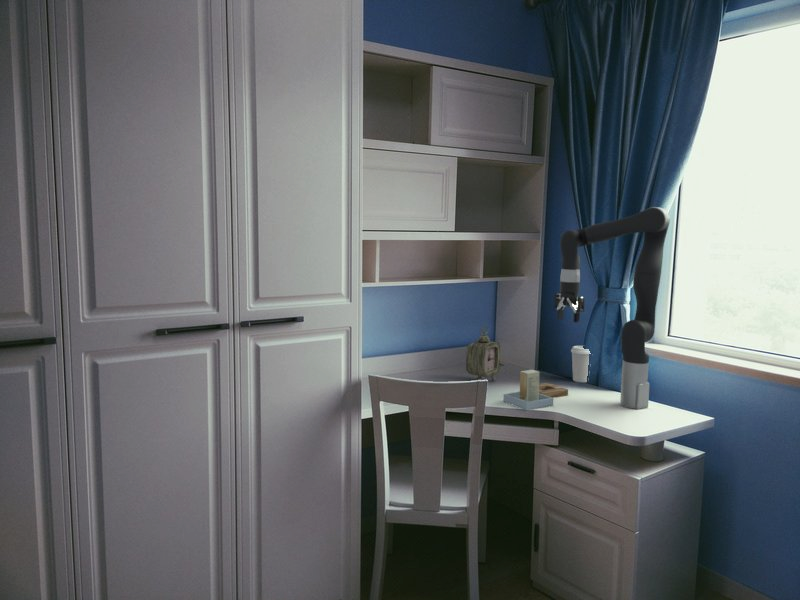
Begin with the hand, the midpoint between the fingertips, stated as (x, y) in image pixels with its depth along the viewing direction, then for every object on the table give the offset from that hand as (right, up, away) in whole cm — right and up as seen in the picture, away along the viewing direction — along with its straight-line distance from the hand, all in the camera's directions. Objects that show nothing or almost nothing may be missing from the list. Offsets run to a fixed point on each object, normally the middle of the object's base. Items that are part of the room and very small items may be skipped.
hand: (567, 320), depth 249 cm
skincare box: (-18, -31, -12) cm, 38 cm away
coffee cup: (+13, -28, +27) cm, 41 cm away
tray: (-18, -31, -12) cm, 38 cm away
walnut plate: (-9, -30, +3) cm, 31 cm away
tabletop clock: (-32, -28, +21) cm, 47 cm away
